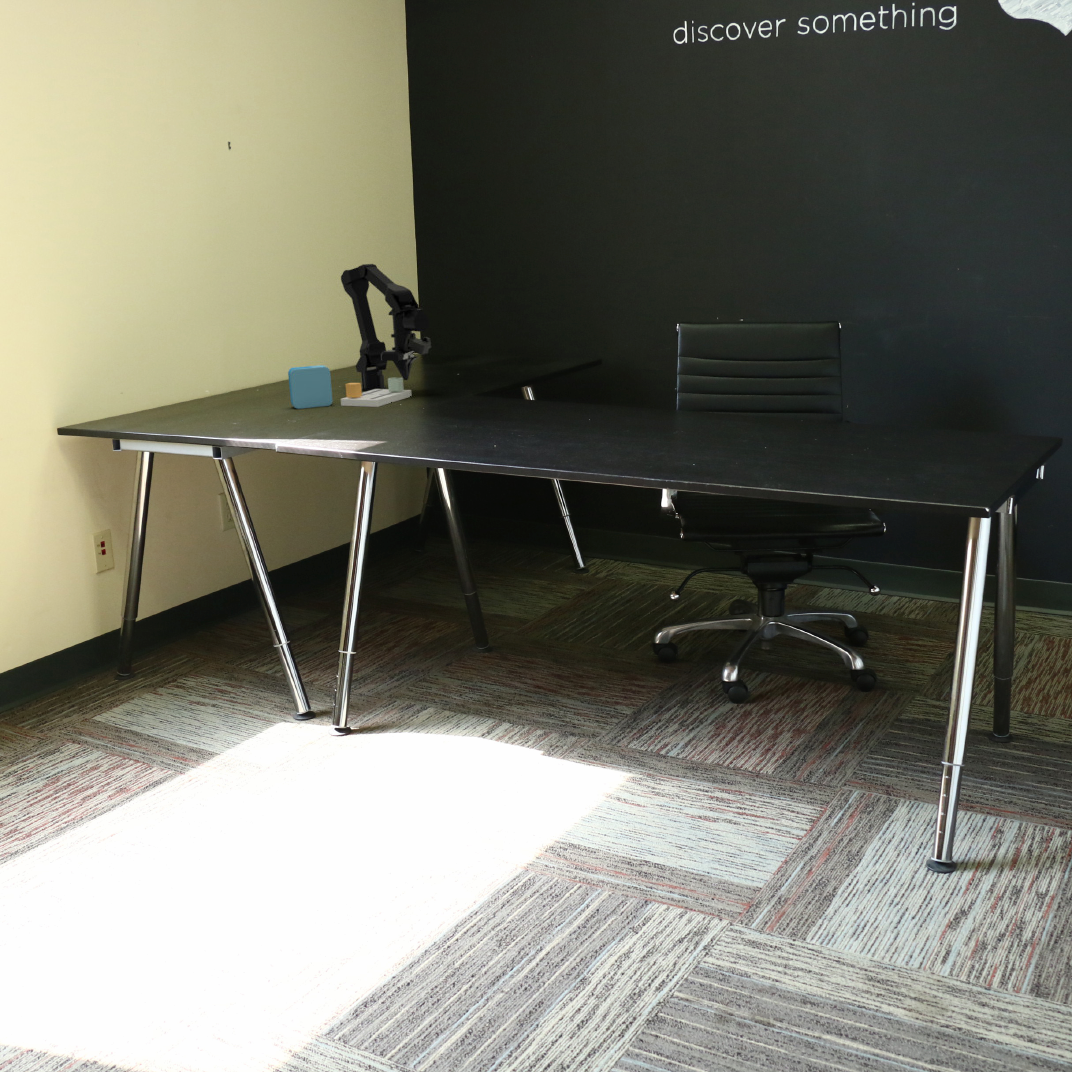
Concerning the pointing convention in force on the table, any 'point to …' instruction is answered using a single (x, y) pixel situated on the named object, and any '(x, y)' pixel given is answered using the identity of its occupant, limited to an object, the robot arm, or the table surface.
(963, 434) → the table surface
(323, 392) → the blue rounded block
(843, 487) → the table surface
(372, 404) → the mixer console
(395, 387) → the sage fader
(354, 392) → the amber fader
